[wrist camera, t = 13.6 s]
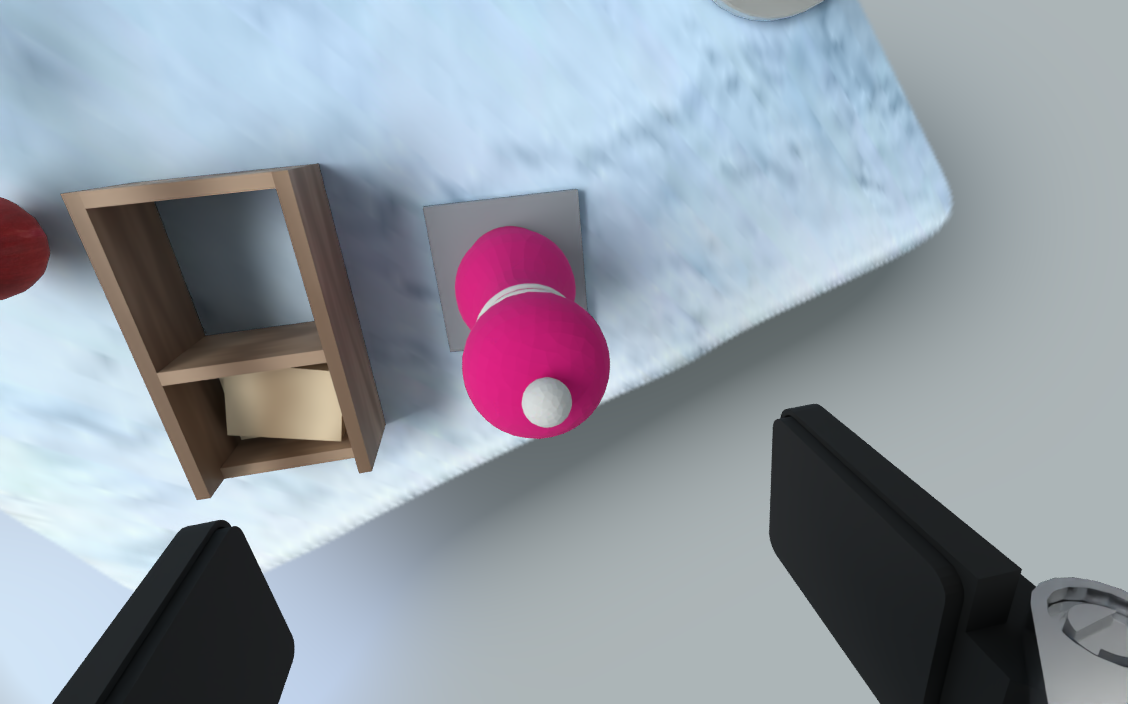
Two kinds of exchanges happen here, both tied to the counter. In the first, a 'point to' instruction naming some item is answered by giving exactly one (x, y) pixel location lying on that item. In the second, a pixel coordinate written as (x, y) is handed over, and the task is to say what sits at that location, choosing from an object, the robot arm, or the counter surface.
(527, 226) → the mat
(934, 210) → the counter surface
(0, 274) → the onion
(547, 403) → the pepper mill
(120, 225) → the box
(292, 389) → the upper offcut
